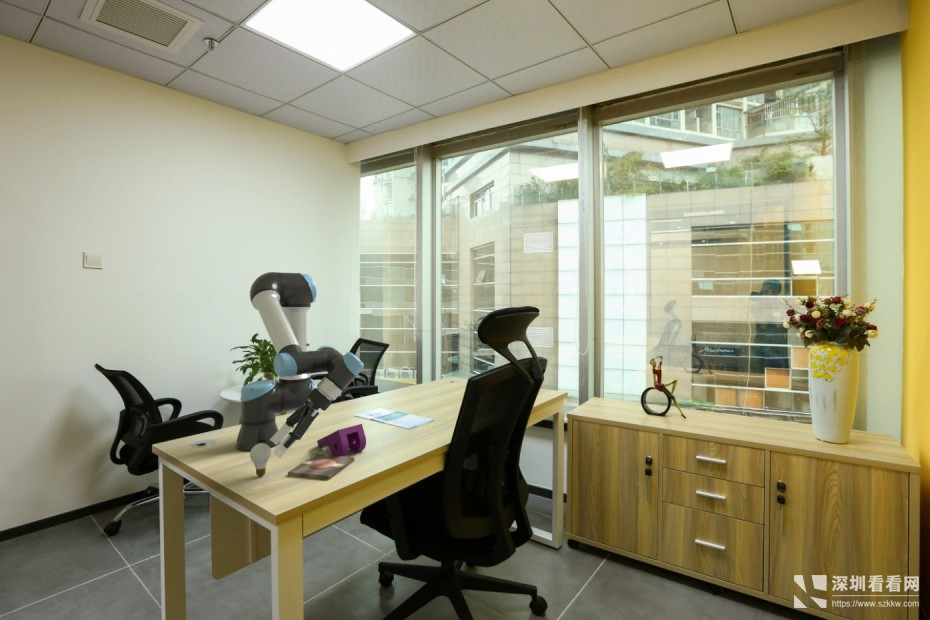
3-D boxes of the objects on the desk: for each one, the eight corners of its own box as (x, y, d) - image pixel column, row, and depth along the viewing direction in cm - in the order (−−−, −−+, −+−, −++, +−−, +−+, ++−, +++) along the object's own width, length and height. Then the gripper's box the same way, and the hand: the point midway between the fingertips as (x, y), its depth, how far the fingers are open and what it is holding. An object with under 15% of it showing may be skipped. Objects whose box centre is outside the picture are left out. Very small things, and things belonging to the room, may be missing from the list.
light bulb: (247, 476, 134) (247, 443, 134) (267, 470, 139) (266, 439, 138) (254, 481, 130) (253, 448, 130) (274, 476, 134) (274, 443, 134)
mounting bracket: (318, 467, 158) (345, 455, 147) (312, 443, 160) (338, 429, 150) (341, 459, 166) (368, 447, 155) (335, 436, 168) (361, 423, 157)
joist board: (288, 475, 135) (288, 471, 135) (316, 457, 150) (316, 453, 150) (329, 479, 132) (329, 475, 131) (354, 460, 147) (354, 456, 147)
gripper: (340, 409, 131) (288, 468, 125) (326, 394, 154) (281, 444, 147) (321, 394, 129) (267, 453, 122) (309, 380, 151) (263, 430, 144)
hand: (274, 448), depth 135 cm, fingers open, 13 cm apart
